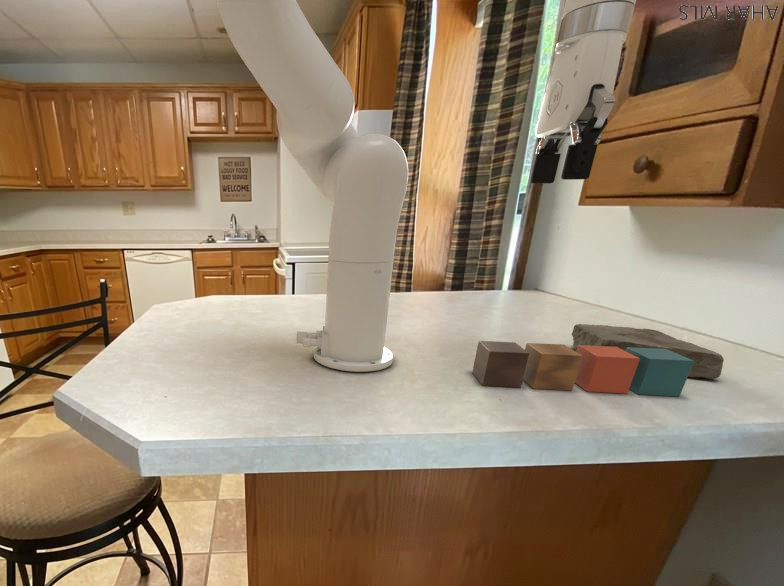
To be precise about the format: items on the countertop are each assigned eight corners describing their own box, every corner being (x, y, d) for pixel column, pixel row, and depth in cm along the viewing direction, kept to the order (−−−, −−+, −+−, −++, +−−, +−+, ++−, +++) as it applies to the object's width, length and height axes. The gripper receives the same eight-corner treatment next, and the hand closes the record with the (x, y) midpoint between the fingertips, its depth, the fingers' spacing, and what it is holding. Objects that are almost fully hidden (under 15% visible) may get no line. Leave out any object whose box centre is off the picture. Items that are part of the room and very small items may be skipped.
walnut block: (482, 385, 58) (489, 351, 57) (472, 372, 63) (478, 340, 61) (521, 387, 58) (529, 353, 56) (507, 374, 62) (515, 342, 60)
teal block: (637, 394, 56) (650, 358, 54) (615, 380, 60) (626, 347, 59) (679, 396, 55) (694, 360, 53) (653, 382, 60) (666, 348, 58)
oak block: (532, 388, 58) (541, 353, 56) (518, 375, 62) (526, 342, 60) (572, 390, 57) (582, 355, 55) (554, 377, 62) (564, 344, 60)
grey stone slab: (720, 381, 60) (733, 353, 58) (602, 373, 63) (611, 346, 62) (652, 347, 75) (661, 324, 73) (560, 341, 78) (566, 319, 77)
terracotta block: (586, 391, 57) (597, 356, 55) (568, 378, 61) (578, 344, 59) (627, 394, 56) (640, 358, 54) (605, 380, 61) (616, 346, 59)
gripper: (532, 56, 62) (506, 184, 69) (598, 4, 46) (557, 177, 53) (587, 54, 61) (556, 184, 68) (674, 0, 45) (622, 177, 52)
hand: (556, 181), depth 60 cm, fingers open, 9 cm apart
